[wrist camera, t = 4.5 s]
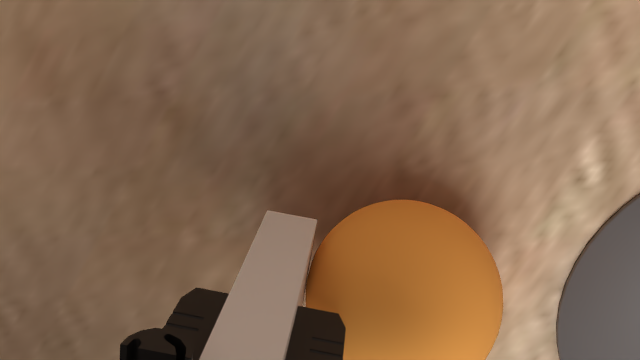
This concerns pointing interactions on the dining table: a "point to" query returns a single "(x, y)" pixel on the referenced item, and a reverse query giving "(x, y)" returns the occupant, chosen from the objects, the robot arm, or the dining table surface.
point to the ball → (408, 284)
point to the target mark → (604, 294)
